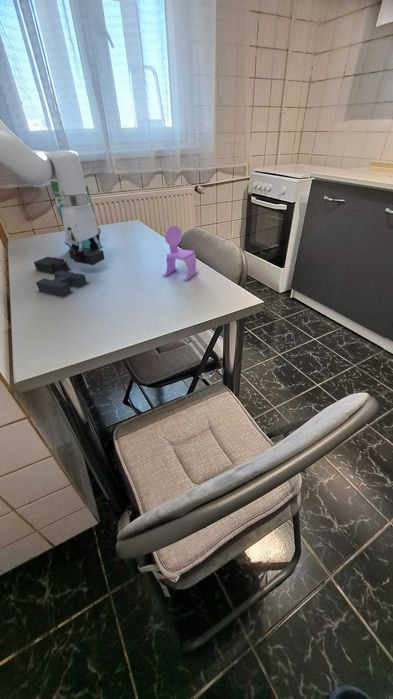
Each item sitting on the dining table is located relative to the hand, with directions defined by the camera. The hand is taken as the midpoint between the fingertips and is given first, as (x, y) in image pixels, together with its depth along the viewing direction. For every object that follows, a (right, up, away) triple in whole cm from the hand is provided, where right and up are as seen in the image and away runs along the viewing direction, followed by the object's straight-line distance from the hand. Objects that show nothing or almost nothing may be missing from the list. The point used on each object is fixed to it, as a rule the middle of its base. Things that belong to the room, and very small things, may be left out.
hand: (89, 258), depth 99 cm
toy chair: (+31, -6, -2) cm, 32 cm away
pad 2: (-1, 0, +1) cm, 2 cm away
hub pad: (-5, -11, -7) cm, 14 cm away
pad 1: (-14, -2, +5) cm, 15 cm away
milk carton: (-10, +11, +23) cm, 27 cm away
